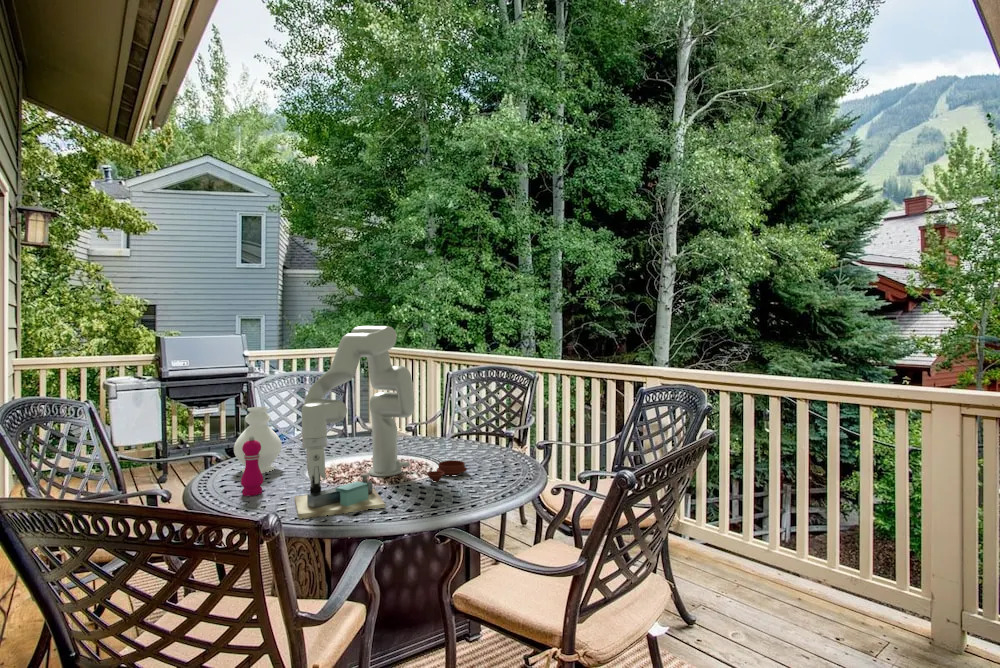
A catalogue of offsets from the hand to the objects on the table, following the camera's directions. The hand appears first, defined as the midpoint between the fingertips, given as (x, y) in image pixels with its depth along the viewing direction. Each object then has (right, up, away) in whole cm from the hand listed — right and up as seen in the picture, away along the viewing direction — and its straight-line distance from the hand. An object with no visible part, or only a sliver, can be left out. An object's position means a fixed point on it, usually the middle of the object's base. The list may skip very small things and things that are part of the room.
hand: (315, 498), depth 190 cm
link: (+8, -1, +2) cm, 8 cm away
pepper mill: (-27, -3, +15) cm, 31 cm away
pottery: (+38, -2, +36) cm, 53 cm away
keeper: (+12, -1, 0) cm, 12 cm away
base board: (+7, -2, +2) cm, 8 cm away
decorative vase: (-38, -2, +48) cm, 61 cm away
